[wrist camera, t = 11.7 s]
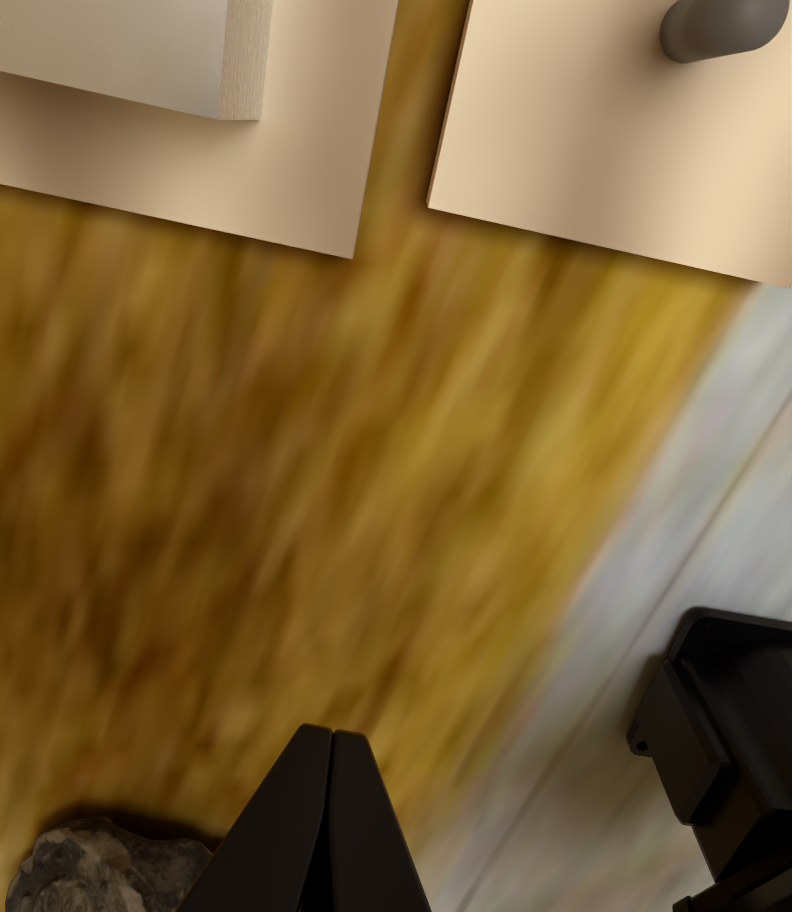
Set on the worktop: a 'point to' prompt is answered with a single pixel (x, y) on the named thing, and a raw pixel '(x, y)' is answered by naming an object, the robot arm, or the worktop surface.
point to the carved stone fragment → (104, 871)
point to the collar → (145, 50)
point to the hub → (224, 137)
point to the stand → (628, 128)
